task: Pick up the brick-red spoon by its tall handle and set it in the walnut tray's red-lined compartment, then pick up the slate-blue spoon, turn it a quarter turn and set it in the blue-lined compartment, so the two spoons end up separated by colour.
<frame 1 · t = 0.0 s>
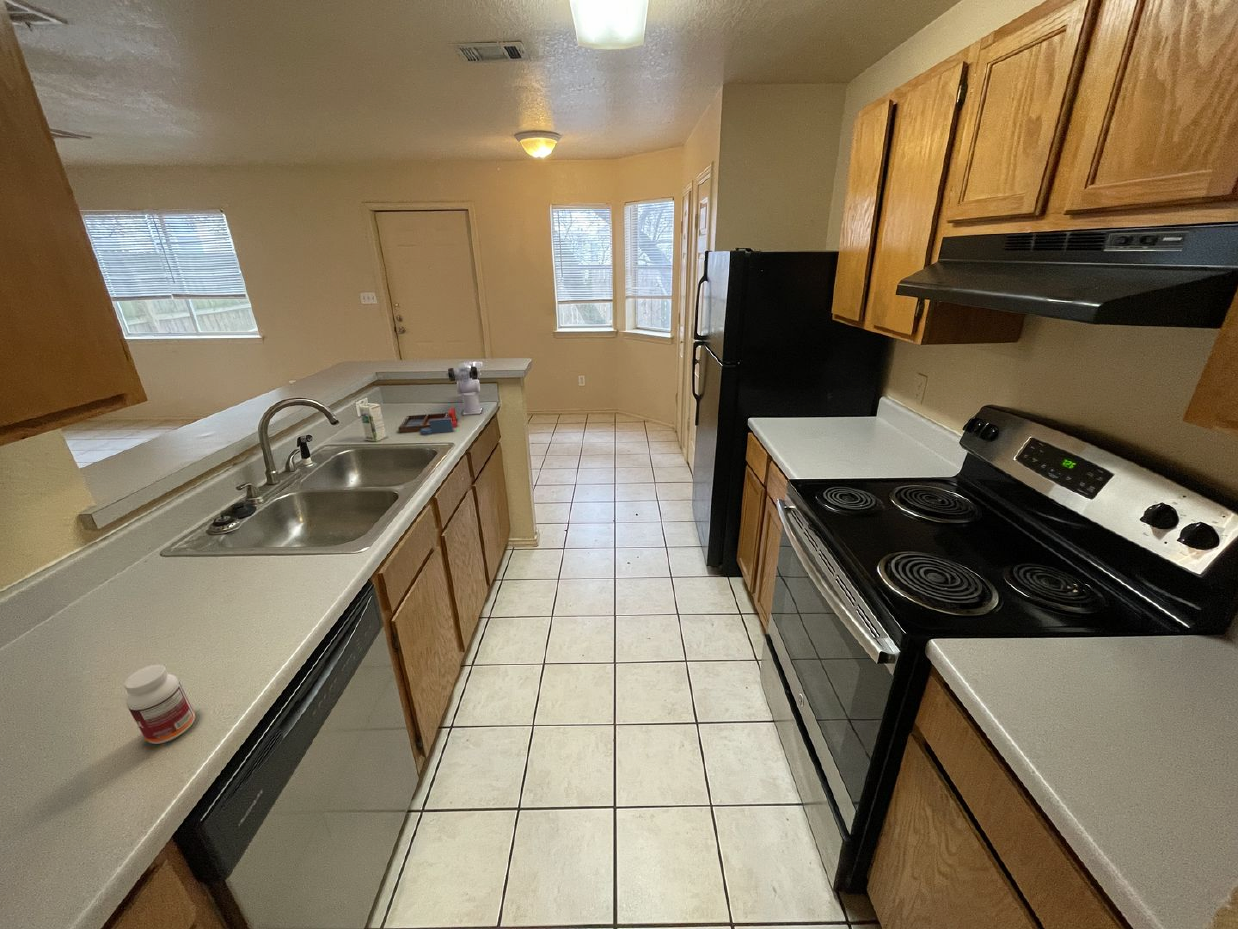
hand: (461, 375, 215), 22 cm above the counter, tool horizontal, fingers open, 7 cm apart
pill bottle: (172, 729, 80), on the counter
red spoon: (453, 422, 227), on the counter
syrup box: (376, 439, 209), on the counter
sorting tray: (425, 425, 224), on the counter
blue spoon: (442, 431, 215), on the counter
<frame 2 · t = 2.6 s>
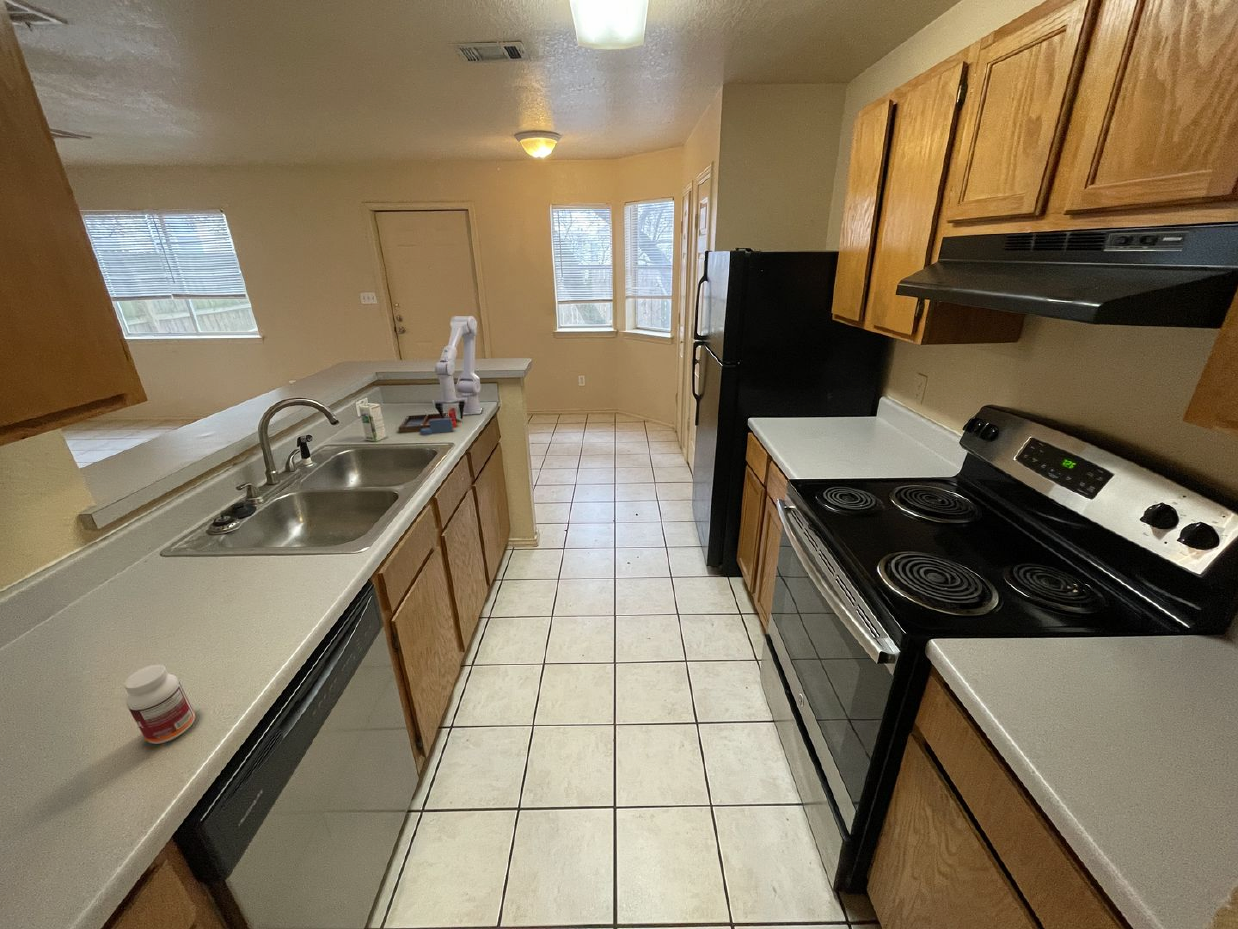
hand: (452, 419, 226), 2 cm above the counter, tool pointing down, fingers open, 7 cm apart
nothing on the counter moved.
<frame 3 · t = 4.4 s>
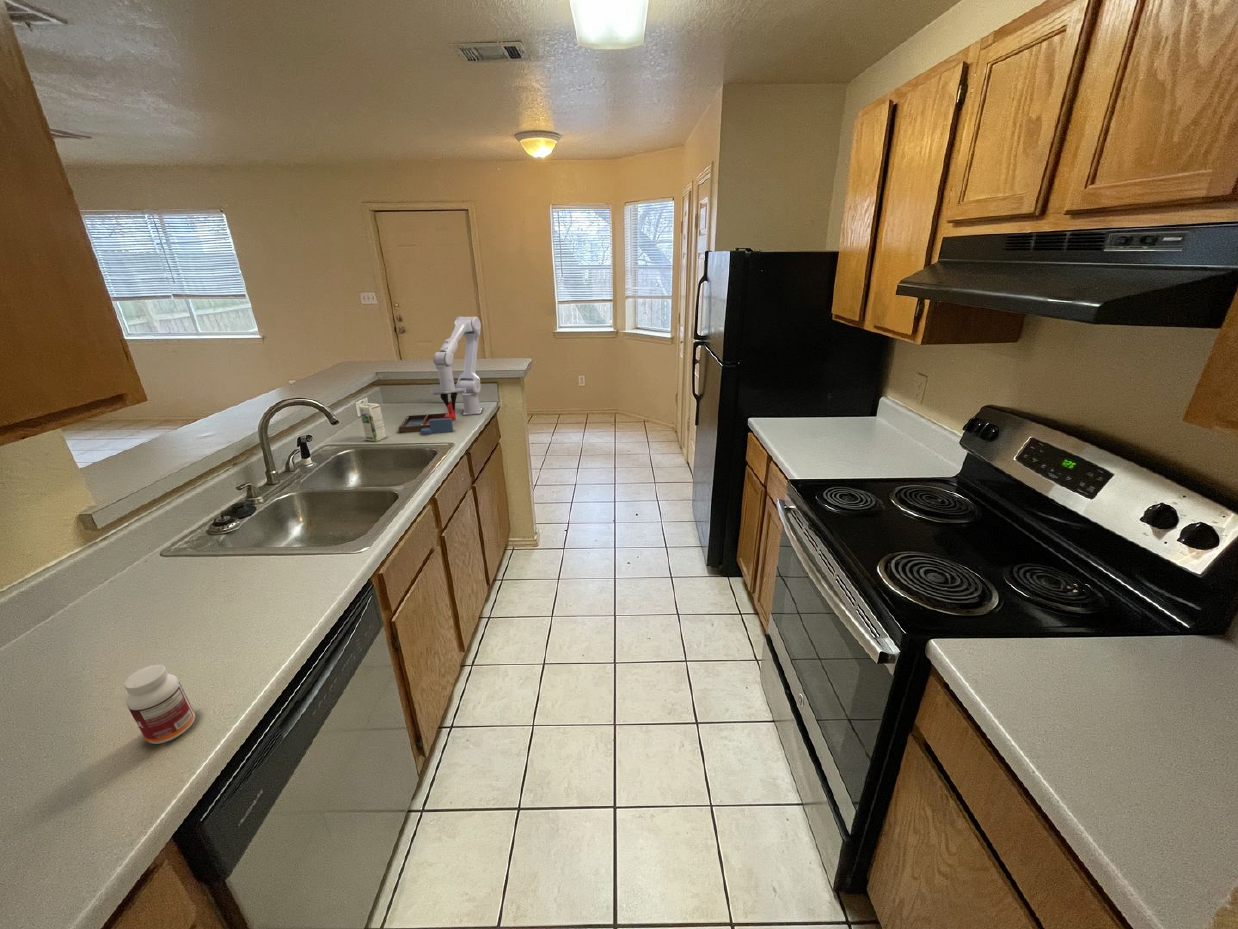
hand: (451, 409, 225), 6 cm above the counter, tool pointing down, fingers closed on red spoon
red spoon: (452, 415, 226), point 3 cm above the counter, touching gripper
everything else where it was.
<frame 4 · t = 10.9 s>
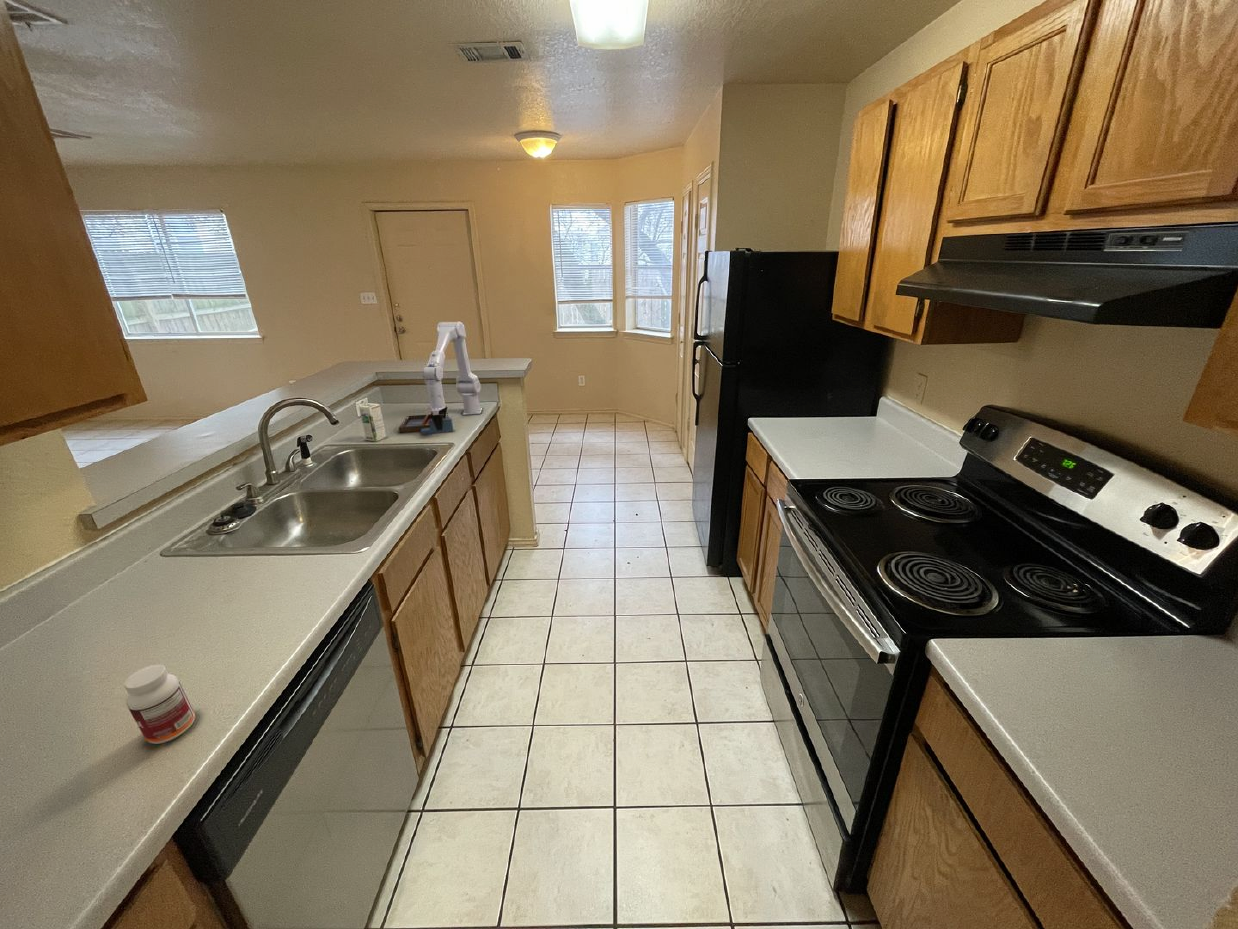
hand: (441, 427, 213), 2 cm above the counter, tool pointing down, fingers open, 7 cm apart
red spoon: (436, 420, 227), point 1 cm above the counter, touching sorting tray
everything else where it was.
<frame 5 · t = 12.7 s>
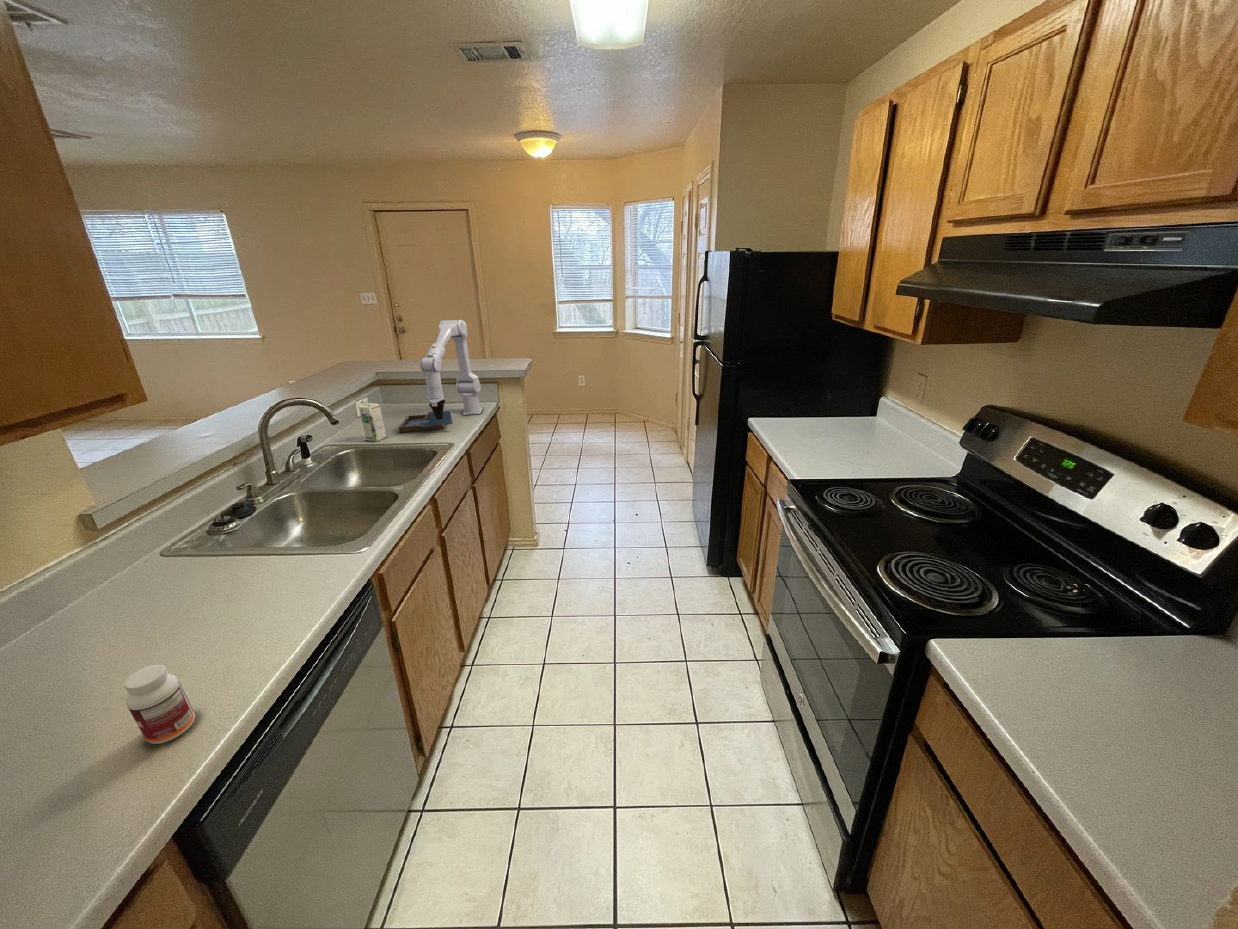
hand: (440, 418, 212), 6 cm above the counter, tool pointing down, fingers closed on blue spoon
blue spoon: (441, 424, 213), point 3 cm above the counter, touching gripper
everything else where it was.
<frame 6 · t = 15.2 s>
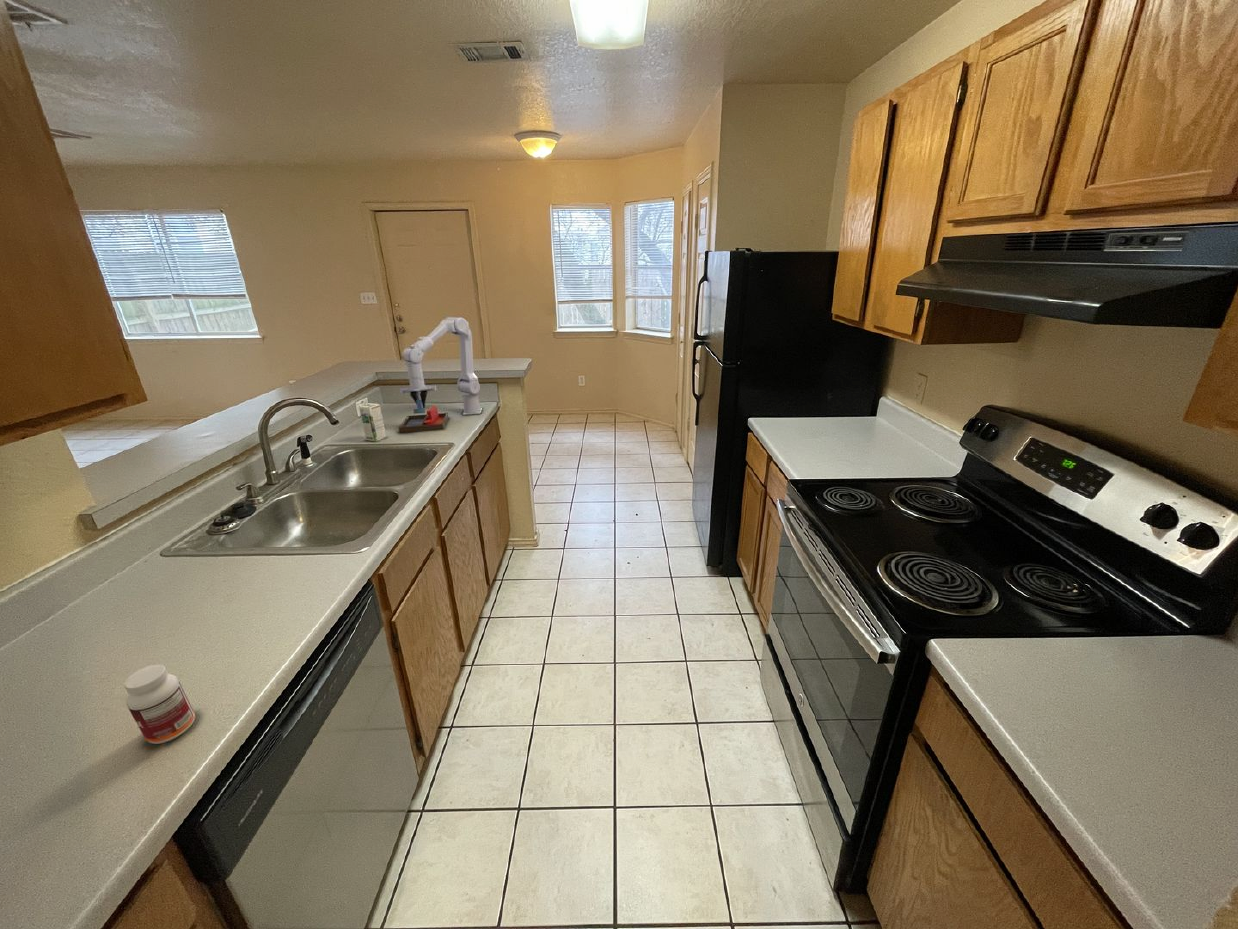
hand: (421, 408, 219), 8 cm above the counter, tool pointing down, fingers closed on blue spoon
blue spoon: (421, 413, 217), point 7 cm above the counter, tilted 16°, touching gripper
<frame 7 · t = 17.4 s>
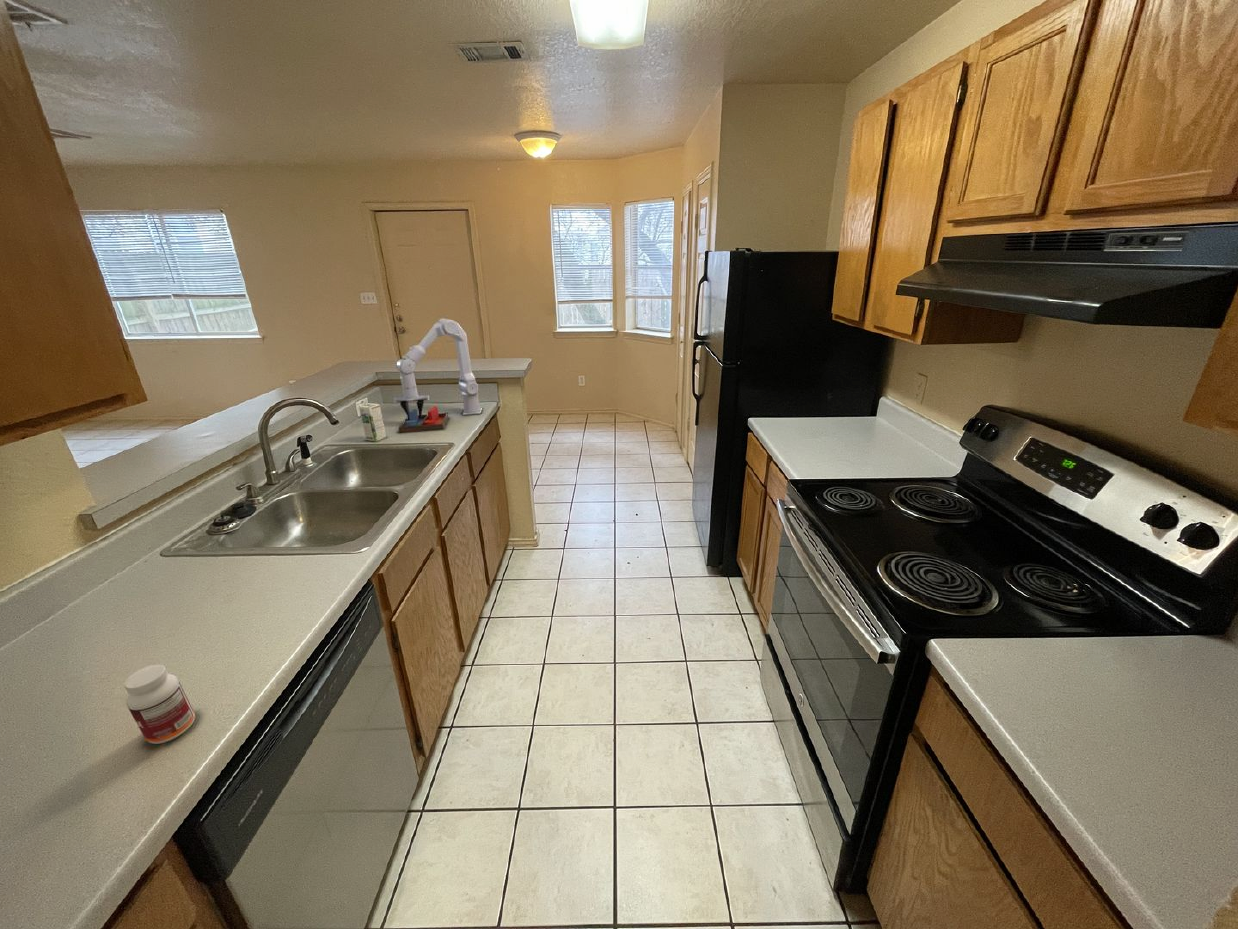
hand: (415, 417, 225), 3 cm above the counter, tool pointing down, fingers open, 4 cm apart
blue spoon: (414, 422, 223), point 1 cm above the counter, tilted 8°, touching sorting tray
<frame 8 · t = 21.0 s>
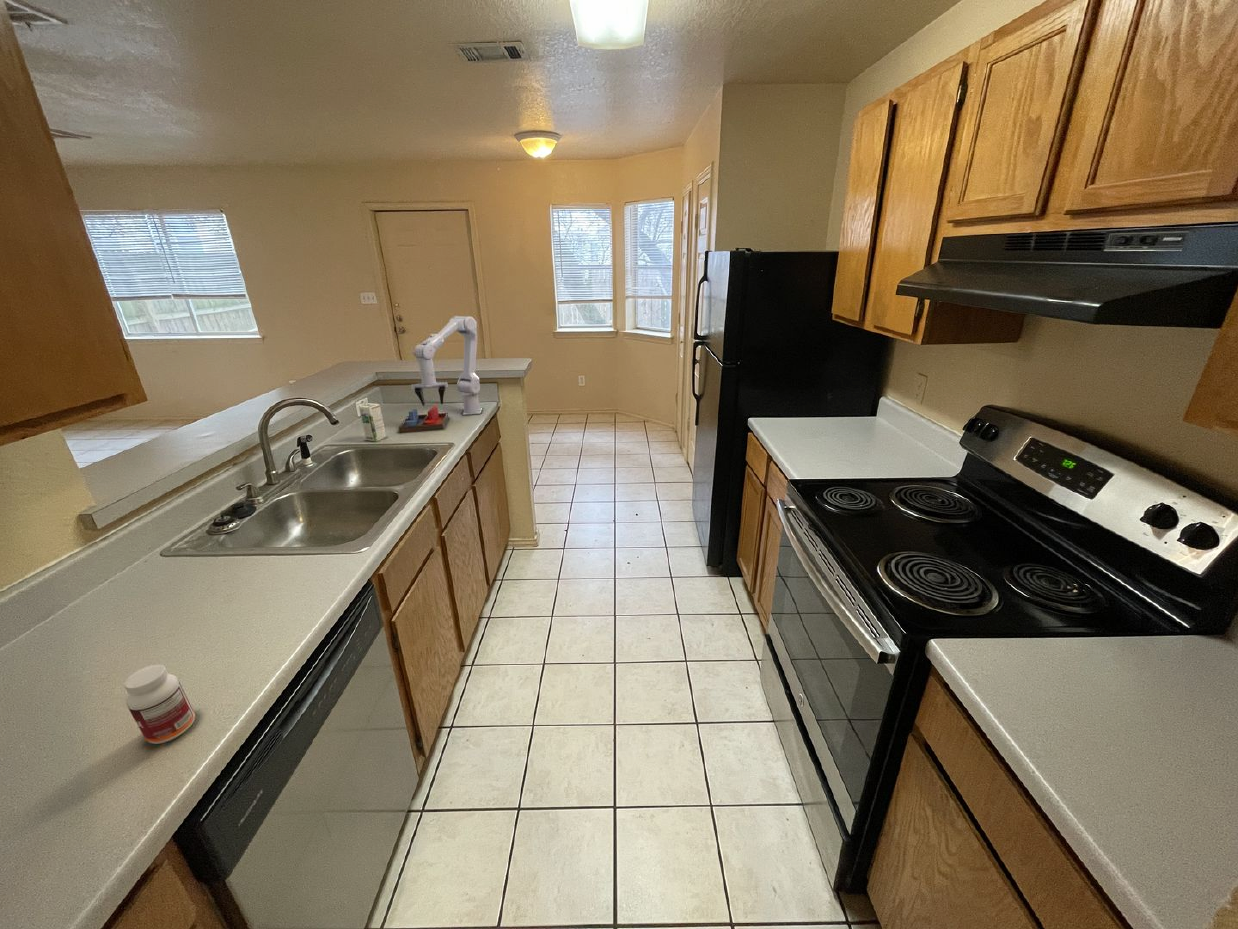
hand: (433, 404, 220), 9 cm above the counter, tool pointing down, fingers open, 7 cm apart
at the end: red spoon inside the target area on the sorting tray (3.5 cm from its centre), point 0.7 cm above the sorting tray's base; blue spoon inside the target area on the sorting tray (0.2 cm from its centre), point 1.3 cm above the sorting tray's base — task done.
